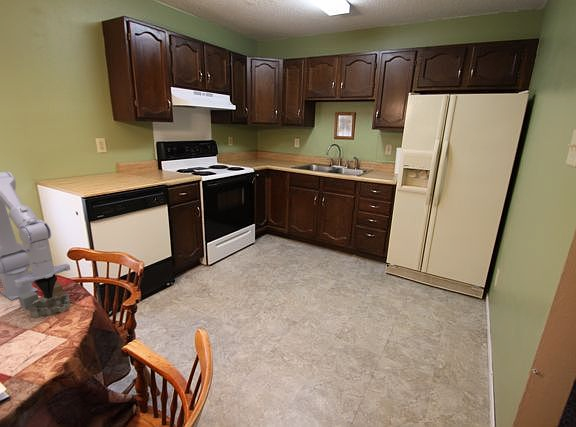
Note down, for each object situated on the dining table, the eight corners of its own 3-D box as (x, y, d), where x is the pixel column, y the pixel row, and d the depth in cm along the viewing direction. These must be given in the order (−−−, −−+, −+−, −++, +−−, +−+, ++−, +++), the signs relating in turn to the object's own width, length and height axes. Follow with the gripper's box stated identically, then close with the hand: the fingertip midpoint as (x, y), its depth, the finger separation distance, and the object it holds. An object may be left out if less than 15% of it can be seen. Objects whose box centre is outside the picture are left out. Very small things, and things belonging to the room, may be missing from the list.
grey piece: (28, 320, 98) (25, 309, 97) (34, 308, 105) (32, 297, 104) (68, 312, 103) (66, 302, 102) (72, 301, 109) (70, 290, 108)
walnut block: (46, 296, 112) (44, 286, 111) (58, 291, 115) (56, 281, 114) (51, 299, 110) (49, 289, 109) (64, 294, 113) (62, 284, 112)
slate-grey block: (20, 305, 105) (18, 295, 104) (34, 300, 109) (32, 290, 108) (25, 309, 104) (23, 299, 102) (39, 304, 107) (37, 293, 106)
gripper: (18, 271, 91) (27, 311, 95) (71, 255, 103) (78, 291, 107) (8, 265, 94) (17, 304, 98) (61, 250, 106) (68, 285, 110)
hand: (48, 297), depth 102 cm, fingers closed
